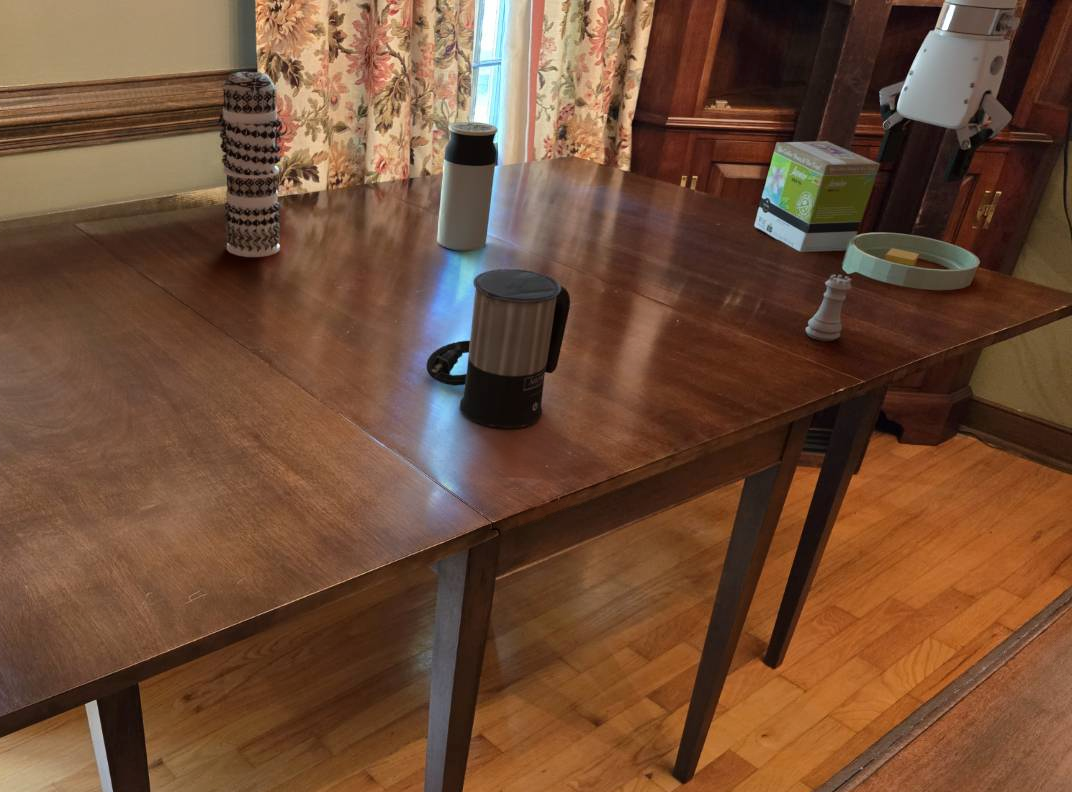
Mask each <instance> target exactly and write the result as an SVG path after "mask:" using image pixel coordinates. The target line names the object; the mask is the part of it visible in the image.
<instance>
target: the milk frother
mask: <svg viewBox="0 0 1072 792" xmlns="http://www.w3.org/2000/svg"><path fill="white" fill-rule="evenodd" d="M473 286H474V288H475V291H474V300H473V310H472V320H471V329H470V336H469V337H470V339H469V340H462V341H456V342H452V343H448V344H446V345H443V346H441V347H439V348H437V349H436V350H434V351H433V352H432V353H431V354H430V355H429V357H428V359H427V362H426V371H427V374H428V375H429V376H430V377H431V378H432V379H433V380H435V381H437V382H439V383H441V384H444V385H449V386H452V387H453V386H454V387H455V386H457V387H458V386H464V388H463V394H462V398H461V399H460V402H459V409H460V411H461V413H462V414H463V415H464V416H465V417H466V418H468V419H469V420H471V421H473V422H475V423H477V424H479V425H483V426H486V427H491V428H492V427H493V428H496V429H497V428H499V429H518V428H525V427H528V426H531V425H533V424H535V423H537V421H539V420H540V418H541V417H542V416H543V415H542V414H543V408H542V401H543V391H544V384H545V375H546V374H553V373H554V372H555V371H556V369H557V367H558V364H559V359H560V355H561V349H562V346H563V341H564V336H565V332H566V327H567V323H568V317H569V313H570V308H571V297H570V293H569V291H568V290H567V288H566V287H564V286H562V285H561V284H560V283H559V282H558V281H557V280H556V279H555V278H554V277H552V276H548V275H545V274H543V273H541V272H536V271H533V270H526V269H519V268H516V269H514V268H512V269H511V268H504V269H503V268H502V269H501V268H498V269H493V270H487V271H484V272H481V273H479V274H478V275H476V276H475V277H474V278H473ZM467 353H468V357H467V367H466V373H463V374H451V371H452V370H453V369H454V367H455V365H456V364H458V363H459V359H460V358H461V357H462V356H463V354H467Z"/></svg>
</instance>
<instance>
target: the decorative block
mask: <svg viewBox="0 0 1072 792" xmlns="http://www.w3.org/2000/svg"><path fill="white" fill-rule="evenodd" d="M918 257H919V254H918V253H913V252H908V251H903V250H898V249H894V248H891V249H890V251H889V252H888V253H887V254H886V255H885V258H884V260H886V261H890V262H893V263H898V264H902V265H907V266H912V267H916V264H917V262H918V259H919V258H918Z"/></svg>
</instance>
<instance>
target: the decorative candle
mask: <svg viewBox="0 0 1072 792" xmlns="http://www.w3.org/2000/svg"><path fill="white" fill-rule="evenodd" d="M220 87H221V88H222V91H223V108H222V114H220V115H219V118H218V119H217V121H218V123H219V126H221V128H222V129H221V130H220V133H219V138H220V139H221V144H220V149H221V151H222V152H223V153H224V154H223V155H222V159H221V162H222V164H223V166H224V167H223V173H224V174H225V175H226V191H225V197H226V198H225V199H226V202H225V203H224V205H223V206H224V208H225V210H226V213H225V214H224V218H225V219H226V220H227V221H228V222H227V223H226V224H225V225H224V229H225V231H226V235H225V240H226V250H227V252H229V253H230V254H232V255H235V256H238V257H244V258H263V257H269V256H272V255H275V254H277V253H279V252H280V249H281V247H280V246H281V245H280V244H279V243H280V240H281V236H280V231H281V226H280V223H279V222H278V221H279V220H280V218H281V215H280V213H279V210H280V209H281V204H280V203H279V202H278V200H279V199H278V197H279V196H278V193H279V192H278V190H277V176H278V175H279V174H280V168H279V166H277V164H278V163H280V162H281V161H282V160H281V157H280V156H279V155H277V153H279V152H280V151H281V149H282V148H281V146H280V145H279V144H278V143H276V140H278V139H279V138H280V137H282V132H281V131H280V130H279V129H277V128H279V127H281V126H282V123H283V121H282V120H281V119H279V118H278V109H277V107H276V89H277V88H278V85H276V84H274V83H273V81H272V79H271V77H270V76H269V75H268V74H265V73H263V72H256V71H238V72H233V73H230V74H229V75H228V77H227V79H226V81H225V82H224V83H222V84H221V85H220Z"/></svg>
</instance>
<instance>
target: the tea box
mask: <svg viewBox="0 0 1072 792" xmlns="http://www.w3.org/2000/svg"><path fill="white" fill-rule="evenodd" d="M775 143H776V144H775V146H774V151H773V153H772V156H771V157H772V158H771V162H770V166H769V170H768V173H767V176H766V180H765V185H764V188H763V191H762V195H761V199H760V202H759V207H758V209H757V213H756V217H755V221H754V228H756V229H758V230H760V231H762V232H764V233H766V234H767V235H768V236H770V237H771V238H773V239H775V240H776V241H780V242H782V243H784V244H785V245H787V246H788V247H791V248H793V249H794V250H796V251H798V252H800V253H807V252H809V253H810V252H811V253H812V252H833V251H834V252H837V251H838V252H839V251H840V252H841V251H843V252H844V251H846V250H847V247H848V244H849V241H850V239H851V238H853V237H854V236H857V235H858V231H859V229H860V226H861V223H862V220H863V216H864V213H865V211H866V208H867V206H868V202H869V200H870V196H871V194H872V189H873V187H874V184H875V181H876V177H877V174H878V172H879V169H880V166H881V163H879V162H877V161H874V160H873V159H869V158H867V157H866V156H865V157H864V156H862V155H861V154H858V153H855V152H853V151H851V150H848V149H846V148H843V147H841V146H839V145H837V144H835V143H832V142H829V141H828V140H825V141H823V140H822V141H789V142H787V141H785V142H784V141H783V142H780V141H777V142H775Z"/></svg>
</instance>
